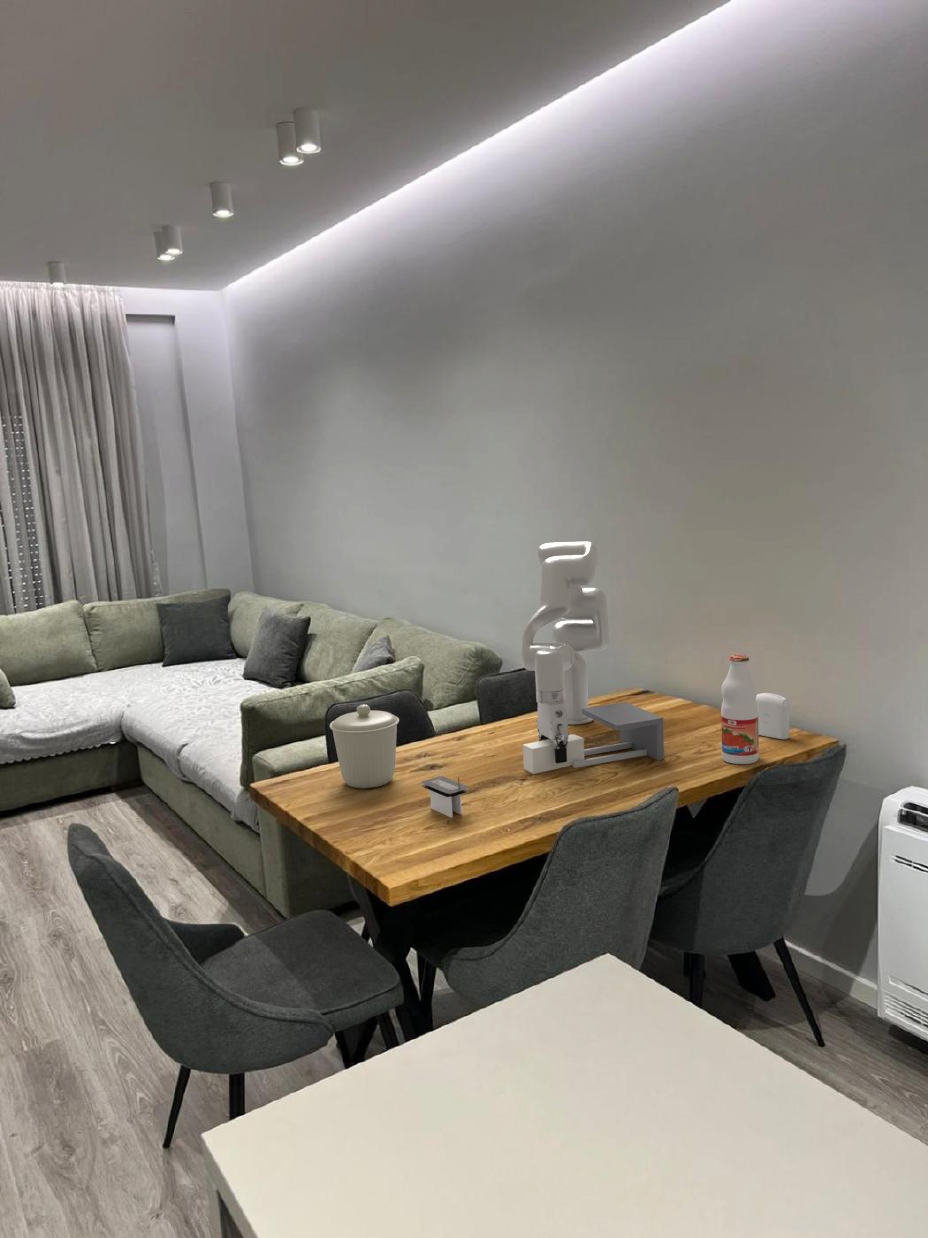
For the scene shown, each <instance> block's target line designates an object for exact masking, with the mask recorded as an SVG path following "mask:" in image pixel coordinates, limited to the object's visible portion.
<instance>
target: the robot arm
mask: <svg viewBox="0 0 928 1238" xmlns="http://www.w3.org/2000/svg"><path fill="white" fill-rule="evenodd" d="M537 556H538V561H539V563H540V565H541V579H540V580H541V582H540V600H539V601H540V602H539V608H538V609H537V610H536V612H535V613H533V615H532V616H531V617H530V618H529V620H528V621H527V623H526V625H525V627H524V629H523V632H522V637H521V638H522V639H521V640H522V641H521V656H520V657H521V664H522V666H523V668H524V669H525V670H527V671H530V672H533V671H534V675H535V676H534V677H535V694H536V695H535V697H536V703H537V720H536V726H537V732H538V736H537V737H538V741H542V740H547V739H551V740H554V743H555V746H556V748H555V762H556V763H563V762H567V744H568V736H569V735H570V734H569V733H570V732H569V725H571V726H572V725H574V726H576V725H583V724H588V723H590V722H592V721H593V719H591V718H589V717H587V716H585V715H583V714H582V709H583V708H589V691H588V690H589V689H588V687H589V686H588V665H587V662H586V661H585V659H584V658H583V656H582V655H581V654H580V652H599V651H600V652H601V651H604V650H606V649H607V648H608V647H609V642H610V630H609V629H610V628H609V616H608V603H607V597H606V594H605V592H604V591H603V589H601V588H598V587H582V586H589V585H591V584H592V583H593V581H594V579H595V575H596V570H597V566H598V563H599V551H598V548H597V545H596V544H595V543H594V542H592V541H563V542H562V541H561V542H559V541H558V542H547V543H543V544H541V545H540V546H539V547H538V550H537ZM558 619H561V620H562V619H563V620H562V621H561V620H560V621H558V622H556V623H555V624H554V625H553V627H552V629H551V638H552V642H548V643H547V642H544V643H542V642H541V643H536V642H535V643H534V638H535V635H536V634H537V633H538V631H540V629H542V628H543V627H544V626H547V625H548V624H550V623H552V622H554V621H556V620H558ZM557 740H561V741H560V742H559V743H558V741H557Z"/></svg>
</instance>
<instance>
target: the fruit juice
mask: <svg viewBox="0 0 928 1238" xmlns="http://www.w3.org/2000/svg"><path fill="white" fill-rule="evenodd" d="M728 659H729V664H730V665H729V668H728V673H727V675H726V677H725V679H724V680H723V682H722V684H721V690H720V691H721V694H722V699H723V700H722V703H721V709H720V711H721V712H720V715H721V716H720V718H721V720H720V721H721V722H720V723H721V725H720V726H721V729H720V731H721V758H722V760H723V761H724V762H725V763H726V762H727V763H728V764H733V765H750V764H754V763H757V762H758V760H759V757H760V753H759V752H760V751H759V748H760V747H759V736H760V735H759V725H758V715H759V713H758V705H757V703H756V696H757V695H758V692H759V690H758V689H759V688H758V684H757V682H756V681H755V679H754V678H753V676H752V673H751V670H750V667H749V661H750V657H749V655H747V654H742V653H741V654H740V653H739V654H738V653H736V654H730V655H729V658H728Z"/></svg>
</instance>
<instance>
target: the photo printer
mask: <svg viewBox="0 0 928 1238" xmlns="http://www.w3.org/2000/svg"><path fill="white" fill-rule="evenodd" d="M756 703H757V705H758V713H759V715H758V725H759V736H761V737H762V736H763V737H768V738H774V739H779V740H782V741H783V740H784V741H785V740H787V739H789V738H790V703H789V700H788V698H786V697H784V696H783V695H780V694H778V693H777V694H776V693H770V692H762V693H757V696H756Z"/></svg>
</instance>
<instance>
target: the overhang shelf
mask: <svg viewBox="0 0 928 1238" xmlns="http://www.w3.org/2000/svg"><path fill="white" fill-rule="evenodd" d="M582 714H583V715H585V716H587V717H589V718H591V719H593V720H594V721H595V722H597V723H599V724H601V725H604V726H606V727H608V728H610V729H612V730H614V731H616V732H619V731H620V735H619V736H620V743H619V742H618V743H613V744H608V745H607V744H606V745H602V746H596V747H589V748H584V757H585V756H592V755H598V754H602V753H608V752H615V751H620V750H625V749H630V748H632V749H633V750H630V751H626V752H620V753H614V754H608V755H603V756H597V757H591V758H584V760H579V761H573V765H572V768H574V769H577V768H583V767H587V766H594V765H599V764H604V763H610V762H616V761H621V760H628V759H633V758H638V757H644V756H648V757H650V758H652V759H654V758H655V759H654V760H656V761H662V759H663V760H665V744H664V743H665V742H664V741H665V739H664V738H665V735H664V717H662V716H659V715H657V714H656V713H653V712H650V711H648V710H645V709H644V708H641V707H639V706H637V705H634V704H631V703H630V702H626V701H623V702H617V703H611V704H604V705H603V704H602V705H597V706H592V707H591V706H589V707H588V708H583V709H582ZM593 720H592V721H593Z"/></svg>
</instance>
